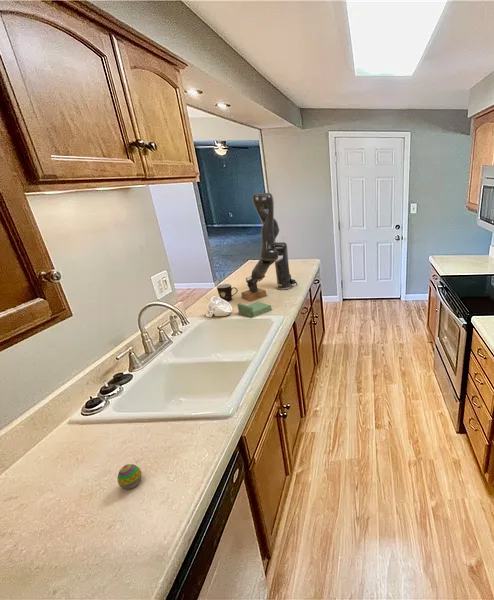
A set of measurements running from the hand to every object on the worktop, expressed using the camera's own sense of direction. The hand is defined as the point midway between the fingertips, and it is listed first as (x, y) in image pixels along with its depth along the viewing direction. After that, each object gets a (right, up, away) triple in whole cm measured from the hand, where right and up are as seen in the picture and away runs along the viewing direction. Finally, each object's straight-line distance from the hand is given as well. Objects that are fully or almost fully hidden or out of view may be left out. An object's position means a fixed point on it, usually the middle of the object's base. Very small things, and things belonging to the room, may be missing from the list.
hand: (250, 285), depth 220 cm
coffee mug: (-13, -10, -5) cm, 17 cm away
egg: (+23, -58, -133) cm, 147 cm away
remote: (+2, -4, 0) cm, 4 cm away
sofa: (+12, -17, -23) cm, 31 cm away
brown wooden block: (+2, -8, +2) cm, 8 cm away
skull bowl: (-7, -19, -28) cm, 34 cm away
